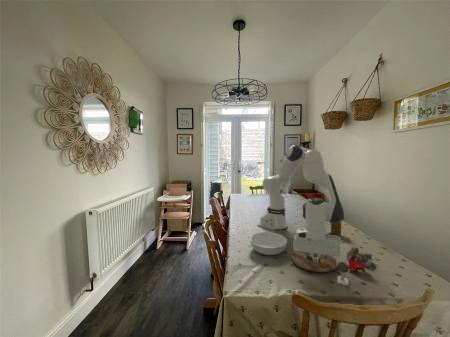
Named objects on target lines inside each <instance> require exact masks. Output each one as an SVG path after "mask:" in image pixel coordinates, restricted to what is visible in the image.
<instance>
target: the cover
mask: <svg viewBox="0 0 450 337" xmlns="http://www.w3.org/2000/svg"><path fill="white" fill-rule="evenodd" d="M317 256H318V254H315V253H314V257H317ZM306 258H307V259H309V260H311V261H313V258H312V256H311V254H310V253H308V252H306ZM318 261H320V258H319V259H318Z"/></svg>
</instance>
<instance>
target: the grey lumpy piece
mask: <svg viewBox="0 0 450 337" xmlns="http://www.w3.org/2000/svg"><path fill="white" fill-rule="evenodd" d="M361 253H362V252H359V254H361ZM362 255H364V257H363V258H364V260H363V262H362V264H365V265H366V266H369V267H371V266H372V263H373V254H372V253H367V252H365V253H362ZM350 257H351V255H350V250H348V251H347V252H346V260H348V259H349V258H350Z"/></svg>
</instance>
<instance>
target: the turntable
mask: <svg viewBox="0 0 450 337" xmlns="http://www.w3.org/2000/svg"><path fill="white" fill-rule="evenodd" d="M290 256H291V261H292V262H293V263H294V264H295V265H296V266H297V267H300V268H301V269H303V270H306V271H310V272H314V273H328V272H332V271H334V270H335V269H336V268H337V267H338V263H337V262H338V261H337V259H336V257H335V256H330V255H323V254H321V257H320V261H318V263H317V262H313V261H311V260H309V259H307V258H306V252H300V251H295V250H294V249H293V251H292V252H291V253H290Z"/></svg>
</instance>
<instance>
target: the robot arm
mask: <svg viewBox="0 0 450 337" xmlns="http://www.w3.org/2000/svg"><path fill="white" fill-rule="evenodd" d="M285 154H286V156H285V157H284V159H283V160H282V162H281V163H280V165H279V166H278V174H276V175H272V176H271V175H270V176H268V177H266V178H264V179H263V180H262V187H263V189H264V190H265V192H267V194H268V197H269V206H268V207H267V208H266V211H267V212H265V213H264V214H262V215H261V217H260V219H259V220H258V221H257V224H256V225H257V226H258V227H261V228H265V229H270V230H275V231H276V230H283V229H286V228H287V227H288V225H287V220H286V207H285V206H286V205H285V204H286V202H285V201H286V200H285V196H283V195H282V193H281V190H284V189H286V188H288V187H290V186H291V185H292V184H291V183H292V180H291V179H292V176H293V175H294V173H295V172H296V171H297V170H298V168H299V167H300V166H302V174H303V178H304V179H305V180H306V181H307V182H309V183H312V184H314V185H317V186H319V187H322V188H324V189H325V190H326V191H327V196H328V199H329V201H325V200H324V199H322V198H320V197H309V198H308V199H307V200H306V202H305V203H304V204H302V218H304V219H305V226H304V227H297V228H296V230H295V234H294V237H293V243H292V249H293V251H294V250H295V251H300V252H308V253H310V254H311V256H312V258H313V262H317V263H318V259H319V258H320V257H321V254H323V255H330V256H333V257H339V256H341V246H340V245H341V244H342V239H341V236H340V237H338V236H337V235H330V234H328V233H327V224H326V223H330V224H331V223H335V224H338V223H340V222H341V223H342V221H344V219H345V210H344V208H343V205H342V203H341V200H340V198H339V197H340V196H339V194H338V190H337V188H336V185H335V182H334V180H333V177H332V175H330V173H328V172H327V171H326V170H325V165H324V161H323V157H322V154H321V152H320V151H319V150H316V149H310V148H307V147H303V146H300V145H297V144H292V145H291V146H289V147H288V149H287V150H286V153H285ZM314 253H315V254H318V256H317V257H314Z"/></svg>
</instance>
